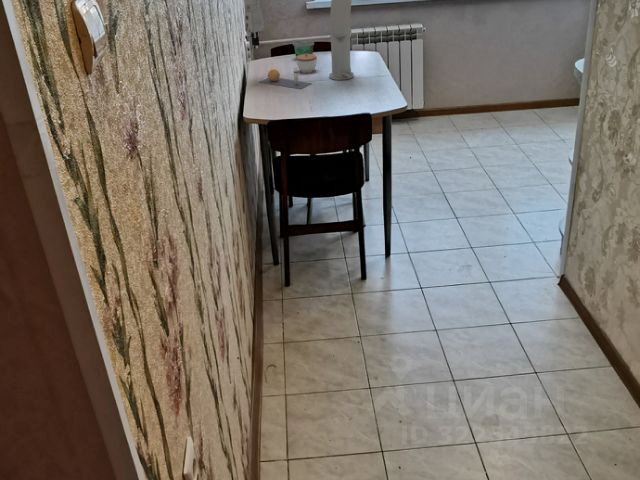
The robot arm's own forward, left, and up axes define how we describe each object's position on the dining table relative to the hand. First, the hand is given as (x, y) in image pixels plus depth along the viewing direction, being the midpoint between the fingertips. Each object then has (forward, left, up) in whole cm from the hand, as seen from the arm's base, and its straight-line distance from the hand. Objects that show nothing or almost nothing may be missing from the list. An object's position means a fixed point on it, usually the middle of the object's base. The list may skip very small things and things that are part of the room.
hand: (255, 45), depth 334 cm
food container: (+17, -35, -17) cm, 43 cm away
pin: (-22, -11, -17) cm, 29 cm away
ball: (-9, -4, -14) cm, 17 cm away
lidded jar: (-4, -26, -17) cm, 32 cm away
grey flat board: (-15, -8, -17) cm, 24 cm away
